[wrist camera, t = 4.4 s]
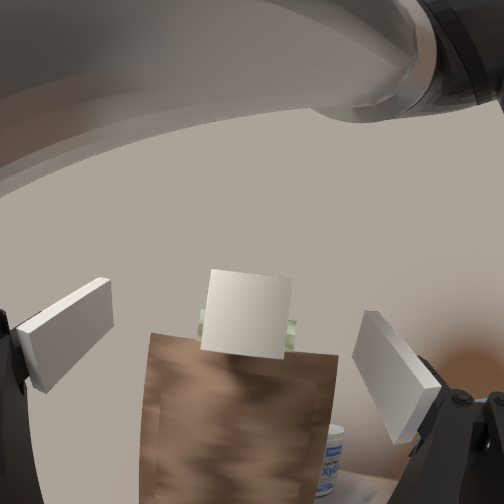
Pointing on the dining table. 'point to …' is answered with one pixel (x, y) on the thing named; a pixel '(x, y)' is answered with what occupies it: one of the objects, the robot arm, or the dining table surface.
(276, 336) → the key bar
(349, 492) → the dining table surface
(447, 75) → the robot arm
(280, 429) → the shelf
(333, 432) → the supplement tub
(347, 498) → the dining table surface
